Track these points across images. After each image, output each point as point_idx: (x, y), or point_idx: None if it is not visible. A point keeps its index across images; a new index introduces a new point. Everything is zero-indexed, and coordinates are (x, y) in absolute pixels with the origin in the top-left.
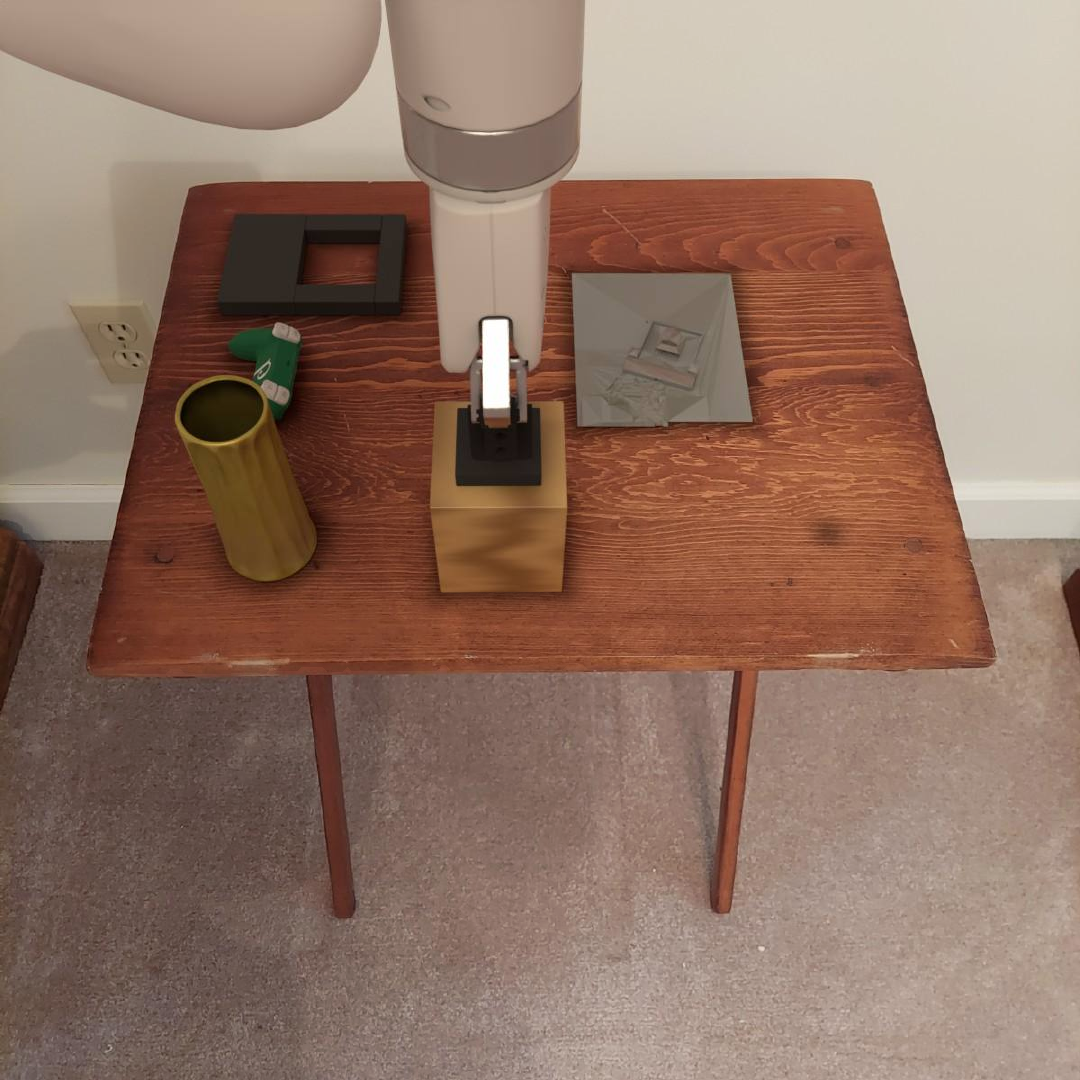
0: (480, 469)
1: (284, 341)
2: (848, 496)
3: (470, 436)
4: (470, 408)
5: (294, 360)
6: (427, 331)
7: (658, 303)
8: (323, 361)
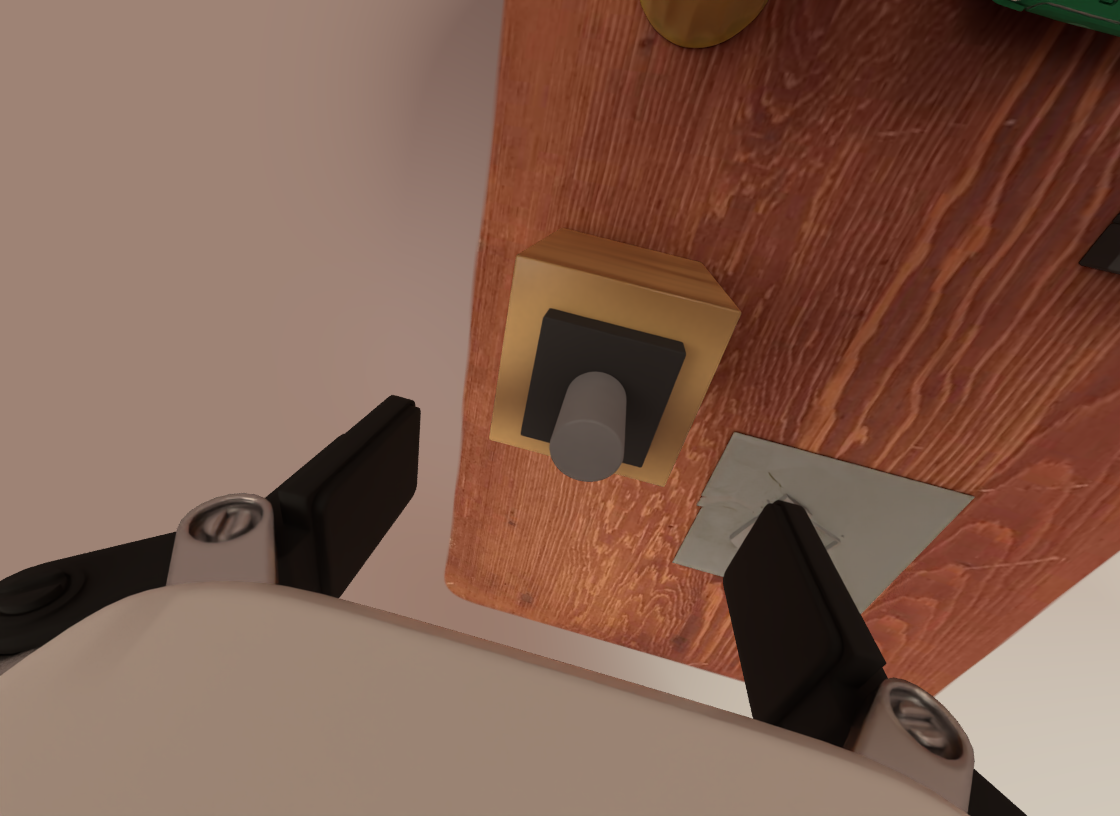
0: (546, 357)
1: None
2: (577, 584)
3: (346, 433)
4: (291, 501)
5: (1109, 22)
6: (1008, 299)
7: (862, 552)
8: (1072, 101)
